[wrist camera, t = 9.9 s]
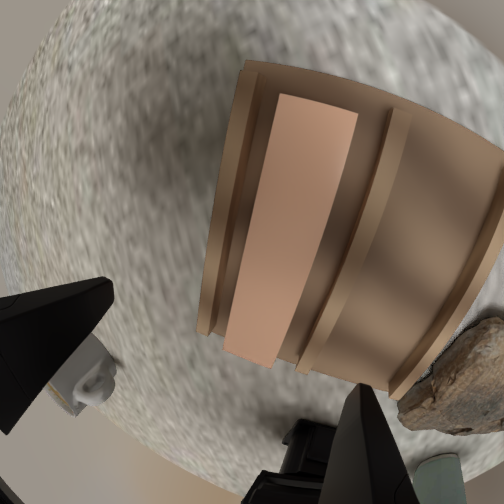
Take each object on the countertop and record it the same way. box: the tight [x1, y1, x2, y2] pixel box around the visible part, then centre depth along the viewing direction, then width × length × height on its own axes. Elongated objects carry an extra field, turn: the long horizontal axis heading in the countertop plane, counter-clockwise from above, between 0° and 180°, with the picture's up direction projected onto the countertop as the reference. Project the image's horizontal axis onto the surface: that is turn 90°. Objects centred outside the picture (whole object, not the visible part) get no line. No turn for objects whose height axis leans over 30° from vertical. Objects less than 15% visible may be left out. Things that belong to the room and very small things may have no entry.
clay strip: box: [222, 93, 358, 369], centre depth 16 cm, size 16×4×3 cm, turn 168°
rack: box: [211, 60, 504, 392], centre depth 17 cm, size 20×18×1 cm
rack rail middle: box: [295, 108, 412, 375], centre depth 15 cm, size 18×1×2 cm, turn 168°
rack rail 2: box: [388, 168, 504, 400], centre depth 14 cm, size 18×1×2 cm, turn 168°
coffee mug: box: [43, 333, 116, 417], centre depth 30 cm, size 13×10×10 cm
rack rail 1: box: [196, 70, 267, 336], centre depth 17 cm, size 18×1×2 cm, turn 168°
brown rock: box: [397, 316, 504, 436], centre depth 14 cm, size 14×5×20 cm
